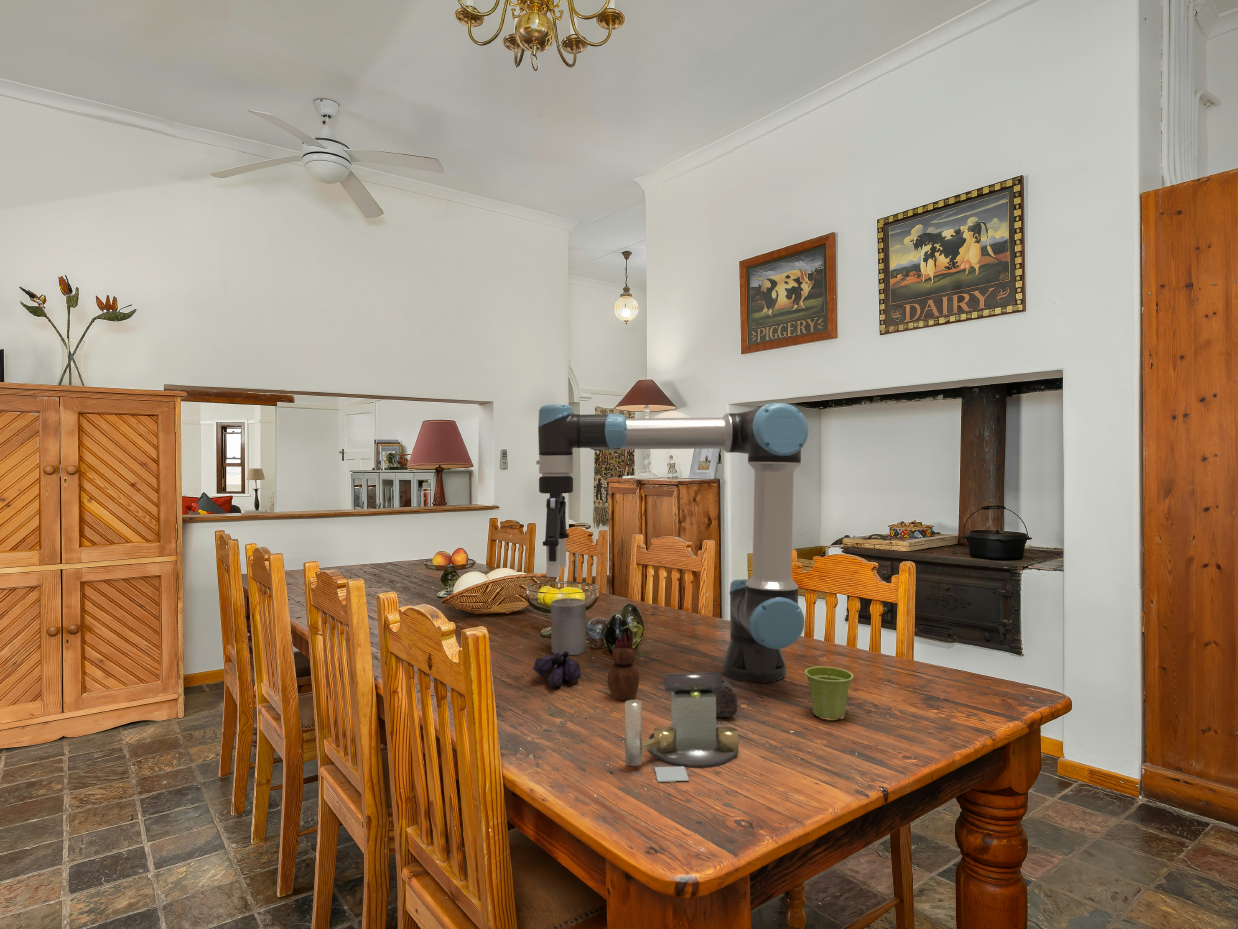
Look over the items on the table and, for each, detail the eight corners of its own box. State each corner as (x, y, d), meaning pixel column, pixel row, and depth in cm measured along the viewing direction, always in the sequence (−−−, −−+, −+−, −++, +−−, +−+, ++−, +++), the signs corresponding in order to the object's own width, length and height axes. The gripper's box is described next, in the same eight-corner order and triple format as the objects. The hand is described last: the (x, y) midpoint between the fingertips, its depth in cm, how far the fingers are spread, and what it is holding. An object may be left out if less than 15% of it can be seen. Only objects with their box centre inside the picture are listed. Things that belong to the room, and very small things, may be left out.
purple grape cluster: (540, 643, 172) (530, 658, 152) (585, 647, 172) (581, 663, 152) (537, 671, 171) (526, 690, 151) (582, 676, 171) (577, 696, 151)
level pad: (684, 768, 114) (684, 766, 114) (688, 782, 109) (688, 780, 109) (654, 769, 113) (654, 767, 113) (657, 782, 108) (657, 781, 108)
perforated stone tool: (695, 698, 148) (695, 666, 148) (719, 697, 149) (719, 665, 149) (714, 724, 133) (713, 688, 133) (739, 722, 134) (739, 687, 134)
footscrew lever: (664, 745, 121) (664, 689, 121) (678, 751, 118) (678, 694, 118) (620, 760, 114) (620, 701, 114) (634, 768, 112) (633, 707, 112)
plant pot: (853, 710, 140) (853, 668, 140) (853, 727, 131) (853, 682, 131) (806, 705, 143) (806, 664, 143) (803, 721, 134) (803, 677, 134)
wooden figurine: (643, 696, 149) (642, 628, 149) (632, 704, 144) (632, 634, 144) (615, 692, 152) (615, 625, 152) (604, 700, 147) (603, 631, 147)
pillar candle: (566, 644, 193) (566, 592, 193) (593, 649, 188) (592, 595, 188) (543, 652, 185) (542, 598, 185) (571, 658, 180) (570, 602, 180)
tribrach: (727, 729, 130) (727, 659, 131) (747, 766, 114) (747, 686, 114) (644, 731, 130) (644, 661, 130) (653, 768, 113) (653, 688, 113)
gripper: (546, 474, 162) (546, 563, 162) (530, 476, 137) (531, 581, 137) (577, 474, 162) (578, 563, 161) (567, 475, 137) (568, 581, 137)
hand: (556, 571), depth 149 cm, fingers open, 13 cm apart
